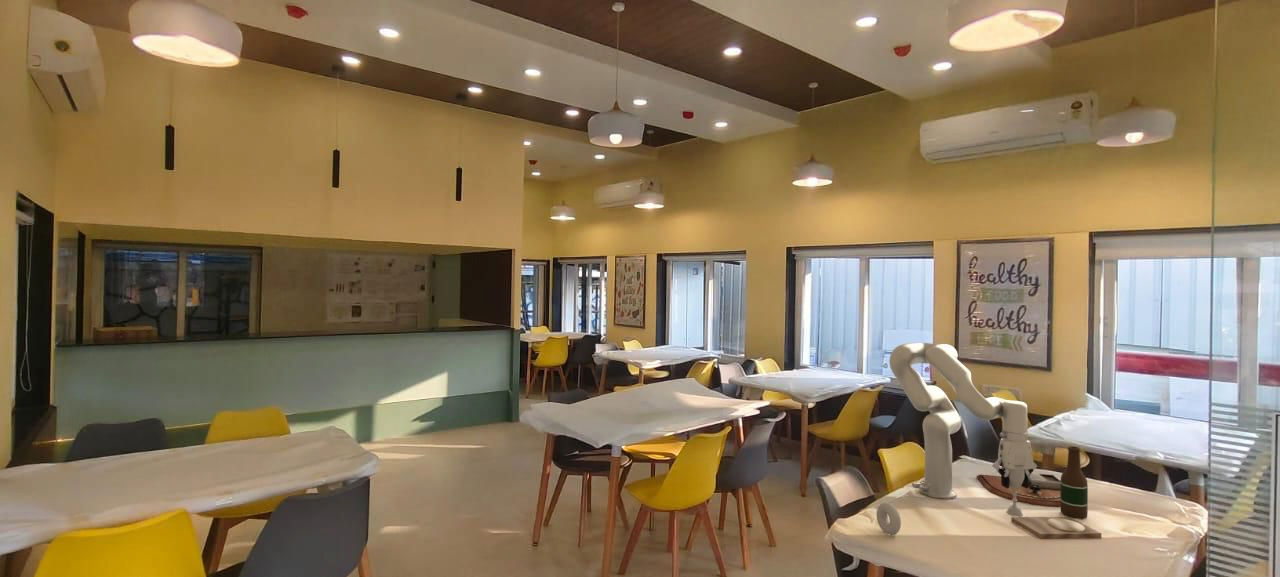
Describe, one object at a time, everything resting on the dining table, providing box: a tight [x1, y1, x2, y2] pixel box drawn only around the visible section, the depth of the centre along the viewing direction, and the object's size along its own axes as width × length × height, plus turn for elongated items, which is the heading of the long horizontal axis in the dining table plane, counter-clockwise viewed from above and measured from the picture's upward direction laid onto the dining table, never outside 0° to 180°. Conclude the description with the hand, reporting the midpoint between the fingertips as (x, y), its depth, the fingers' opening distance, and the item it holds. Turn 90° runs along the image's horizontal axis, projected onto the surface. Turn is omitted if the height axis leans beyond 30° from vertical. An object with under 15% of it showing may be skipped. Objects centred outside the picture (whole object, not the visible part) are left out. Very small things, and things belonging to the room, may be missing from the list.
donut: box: [876, 501, 902, 536], centre depth 191 cm, size 10×4×10 cm, turn 14°
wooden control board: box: [976, 472, 1061, 508], centre depth 231 cm, size 31×5×30 cm
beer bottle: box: [1059, 445, 1089, 520], centre depth 208 cm, size 8×8×24 cm
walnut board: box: [1010, 516, 1102, 540], centre depth 195 cm, size 20×14×2 cm
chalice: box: [1005, 465, 1025, 517], centre depth 209 cm, size 7×7×18 cm
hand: (1014, 486), depth 209 cm, fingers closed on chalice, 6 cm apart
